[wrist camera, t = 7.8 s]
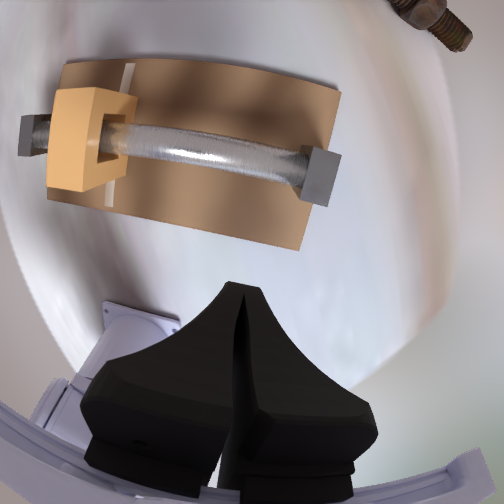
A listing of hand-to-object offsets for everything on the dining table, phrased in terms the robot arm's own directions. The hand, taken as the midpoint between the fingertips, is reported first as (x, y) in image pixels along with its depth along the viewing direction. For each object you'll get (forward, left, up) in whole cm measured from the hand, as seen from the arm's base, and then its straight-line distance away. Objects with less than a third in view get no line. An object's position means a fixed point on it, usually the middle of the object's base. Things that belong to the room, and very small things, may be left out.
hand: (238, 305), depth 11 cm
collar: (+5, +11, -9) cm, 15 cm away
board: (+5, +7, -10) cm, 13 cm away
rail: (+5, +7, -10) cm, 13 cm away
